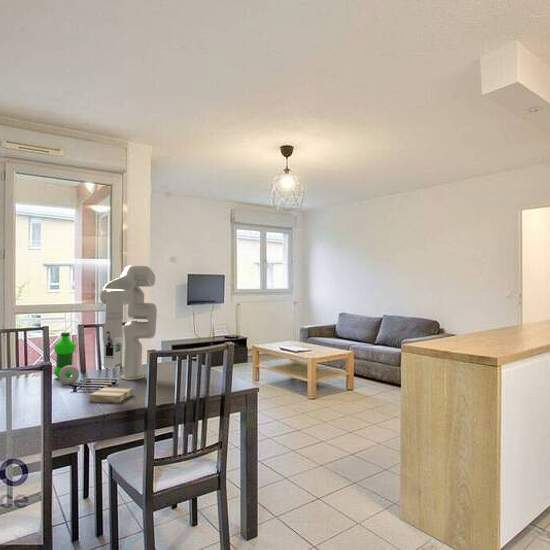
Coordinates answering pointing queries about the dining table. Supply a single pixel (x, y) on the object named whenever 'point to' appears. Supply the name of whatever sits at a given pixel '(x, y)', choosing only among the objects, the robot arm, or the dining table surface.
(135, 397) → the dining table surface
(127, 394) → the beech base
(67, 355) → the plastic bottle
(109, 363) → the syrup box
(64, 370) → the donut
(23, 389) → the dining table surface
